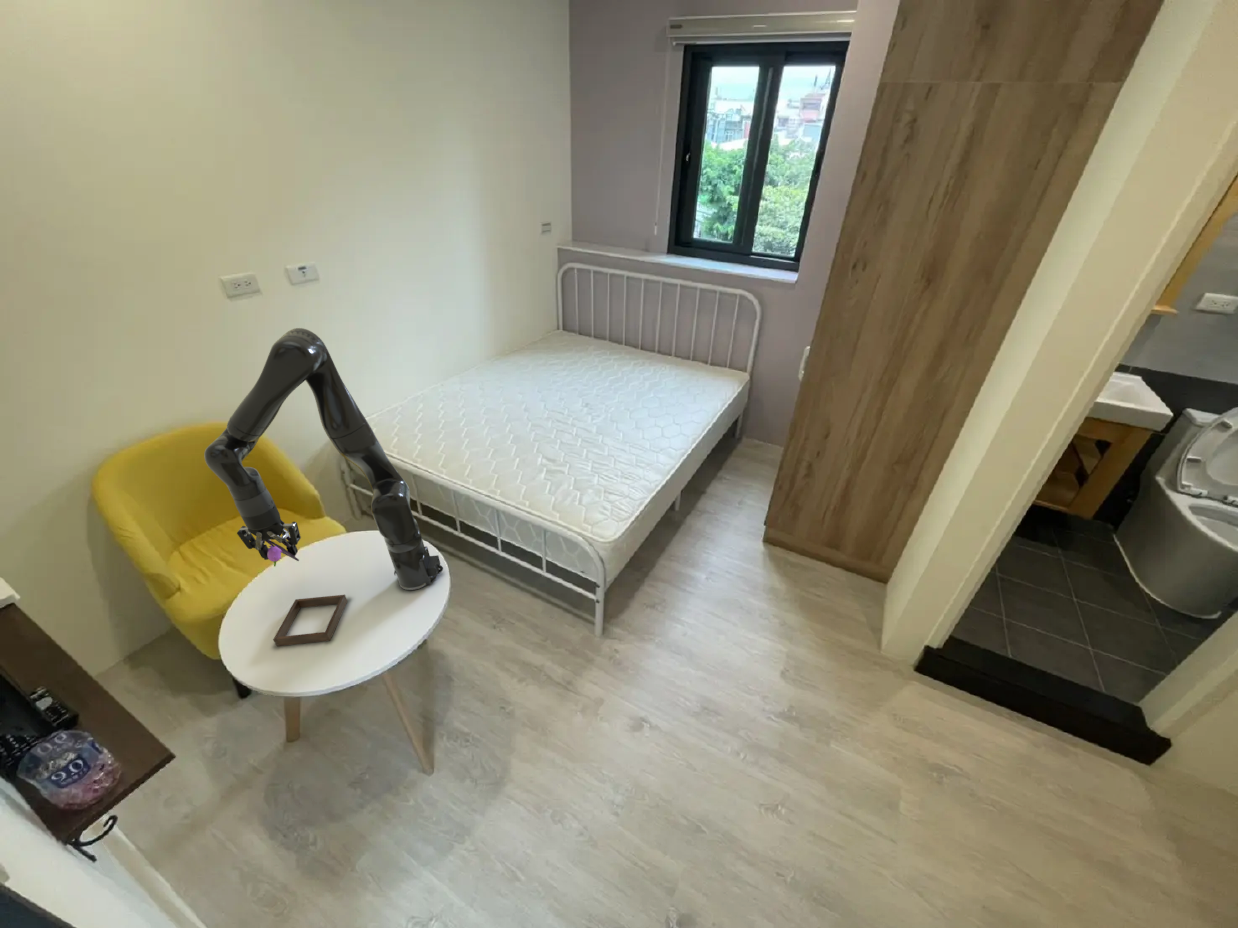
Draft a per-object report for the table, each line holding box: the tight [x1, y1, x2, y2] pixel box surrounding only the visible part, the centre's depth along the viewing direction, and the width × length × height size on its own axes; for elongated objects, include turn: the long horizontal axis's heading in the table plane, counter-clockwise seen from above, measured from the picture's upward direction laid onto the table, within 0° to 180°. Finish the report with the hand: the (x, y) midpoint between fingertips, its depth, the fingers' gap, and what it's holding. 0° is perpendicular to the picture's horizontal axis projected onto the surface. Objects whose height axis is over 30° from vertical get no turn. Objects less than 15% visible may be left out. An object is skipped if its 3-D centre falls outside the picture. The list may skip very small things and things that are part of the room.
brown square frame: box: [272, 594, 348, 647], centre depth 135 cm, size 13×14×3 cm
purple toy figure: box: [265, 539, 300, 567], centre depth 135 cm, size 7×5×9 cm
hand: (281, 556), depth 137 cm, fingers closed on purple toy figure, 6 cm apart
